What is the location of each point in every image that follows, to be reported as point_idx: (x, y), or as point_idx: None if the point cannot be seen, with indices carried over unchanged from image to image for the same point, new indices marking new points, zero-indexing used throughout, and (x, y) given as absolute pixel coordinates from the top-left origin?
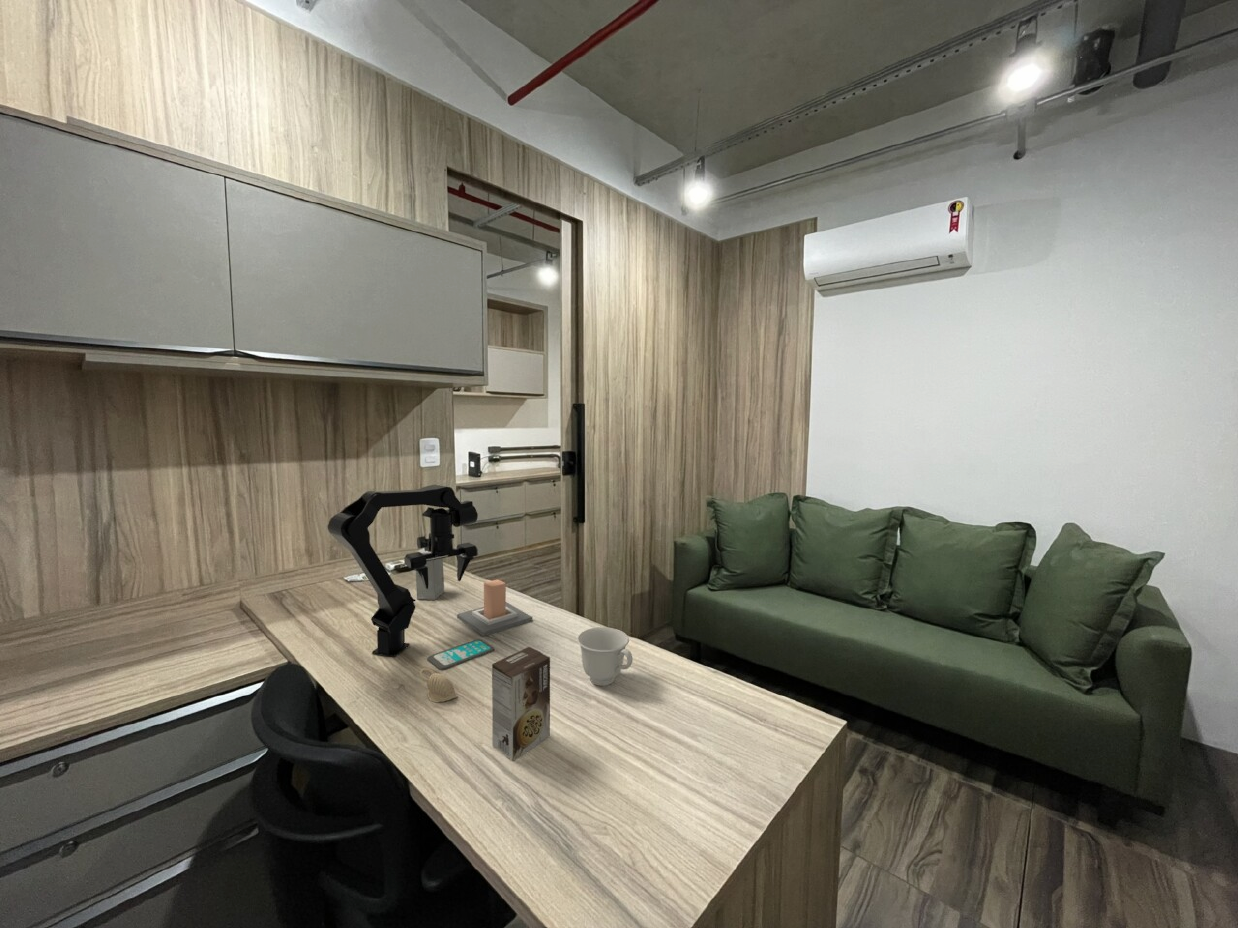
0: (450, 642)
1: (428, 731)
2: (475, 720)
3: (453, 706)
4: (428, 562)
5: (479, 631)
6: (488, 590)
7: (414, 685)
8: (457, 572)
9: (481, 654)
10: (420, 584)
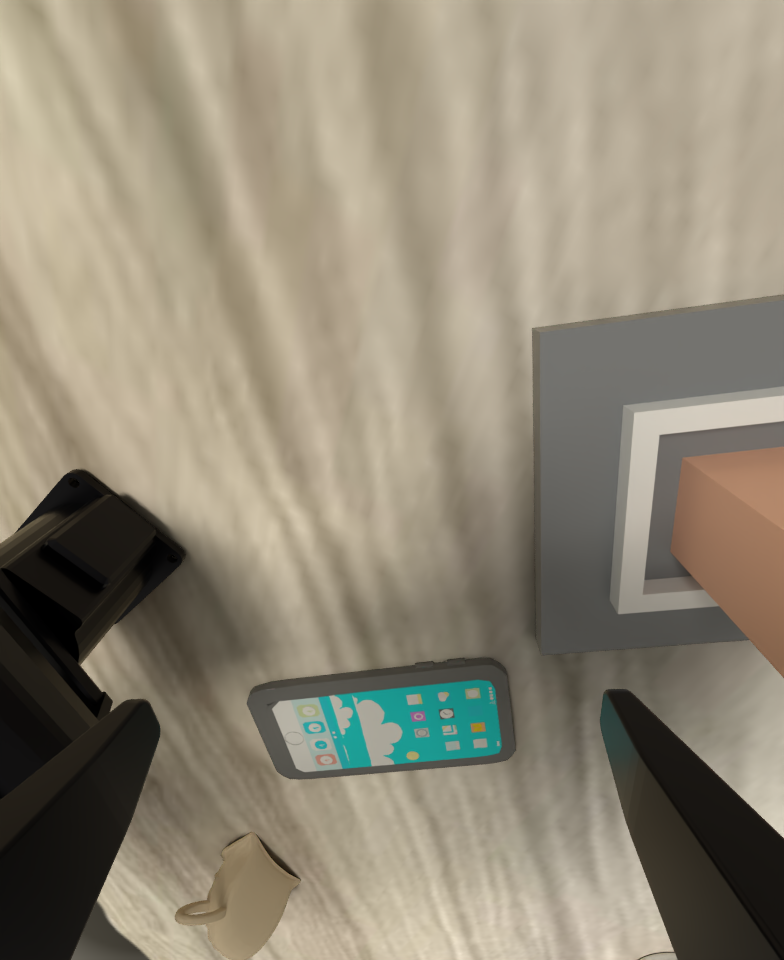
0: (376, 615)
1: None
2: (313, 944)
3: None
4: None
5: (538, 615)
6: None
7: (191, 798)
8: (672, 809)
9: (448, 765)
10: None
